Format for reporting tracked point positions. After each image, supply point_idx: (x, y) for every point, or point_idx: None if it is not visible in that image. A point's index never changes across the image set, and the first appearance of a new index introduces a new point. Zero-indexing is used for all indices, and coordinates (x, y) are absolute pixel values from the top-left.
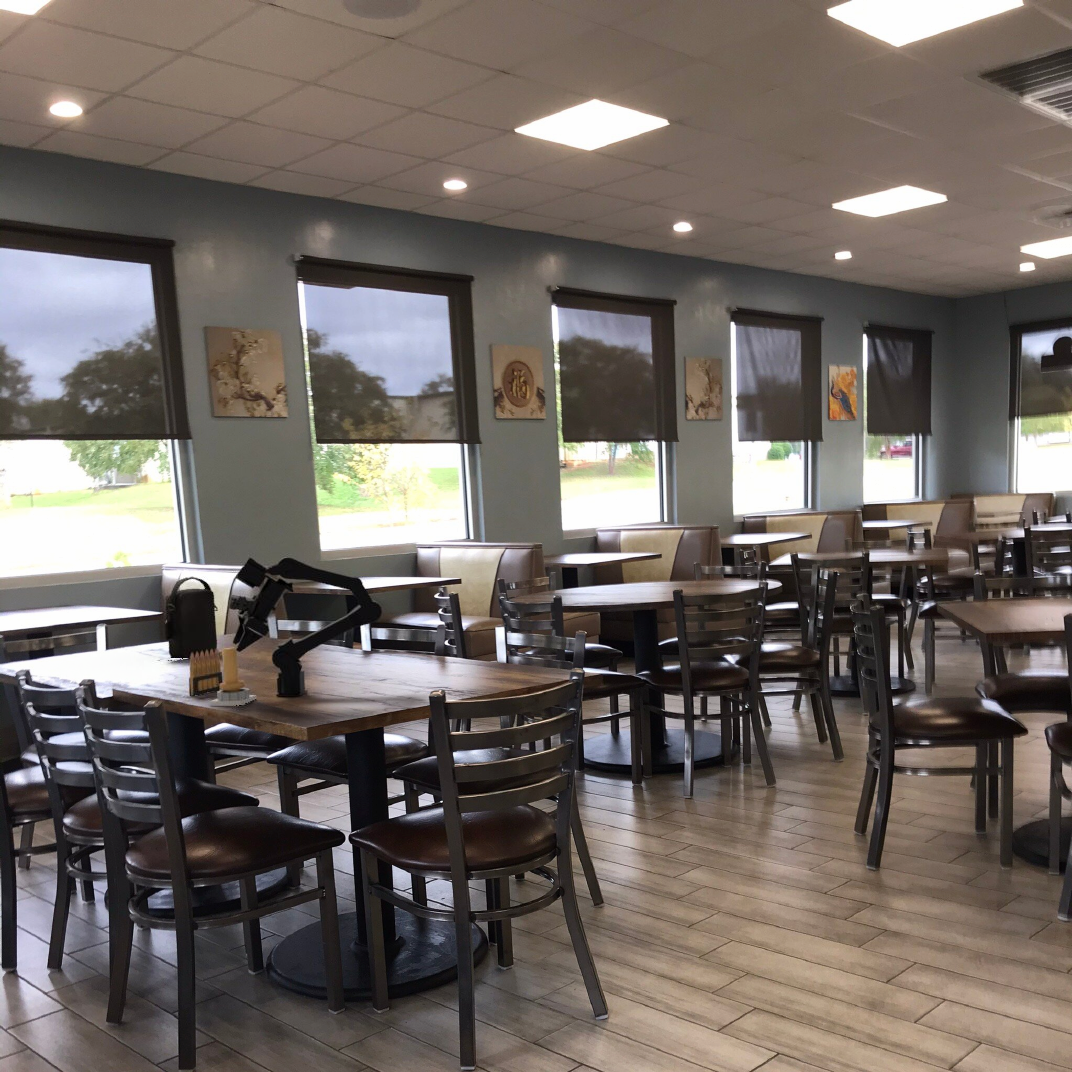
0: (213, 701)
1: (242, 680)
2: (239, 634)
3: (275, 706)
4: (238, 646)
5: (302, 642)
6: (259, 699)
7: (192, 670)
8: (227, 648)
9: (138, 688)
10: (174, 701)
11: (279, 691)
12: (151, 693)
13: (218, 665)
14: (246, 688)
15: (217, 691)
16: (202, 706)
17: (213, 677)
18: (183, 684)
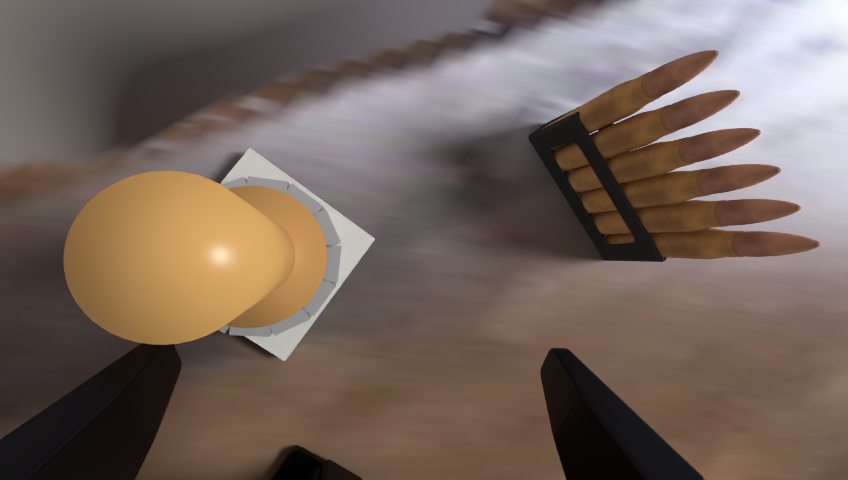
0: (239, 160)
1: (284, 318)
2: (607, 478)
3: (27, 420)
4: (93, 380)
5: None
6: (283, 368)
7: (606, 96)
8: (199, 242)
9: (788, 4)
10: (462, 49)
11: (312, 472)
12: (675, 17)
13: (688, 247)
14: (279, 327)
15: (282, 182)
16: (267, 121)
17: (622, 219)
18: (778, 150)
